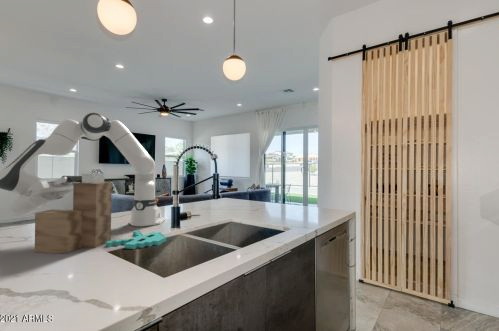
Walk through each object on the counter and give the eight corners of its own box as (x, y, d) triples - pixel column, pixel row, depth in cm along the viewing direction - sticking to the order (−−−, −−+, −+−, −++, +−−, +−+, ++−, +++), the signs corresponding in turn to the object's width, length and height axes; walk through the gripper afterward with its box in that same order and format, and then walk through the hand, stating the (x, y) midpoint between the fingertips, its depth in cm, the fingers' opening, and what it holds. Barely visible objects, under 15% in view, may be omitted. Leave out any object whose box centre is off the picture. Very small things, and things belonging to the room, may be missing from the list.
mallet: (69, 181, 116) (70, 172, 116) (104, 182, 114) (104, 173, 114) (56, 182, 109) (57, 173, 109) (93, 183, 107) (93, 173, 107)
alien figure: (105, 247, 107) (149, 251, 103) (105, 242, 107) (149, 245, 103) (135, 235, 127) (173, 238, 123) (135, 230, 127) (173, 233, 123)
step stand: (71, 239, 117) (71, 181, 117) (110, 240, 116) (111, 182, 116) (34, 252, 99) (35, 184, 100) (80, 254, 98) (81, 185, 98)
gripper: (17, 189, 103) (45, 172, 102) (60, 185, 124) (83, 171, 122) (24, 203, 103) (53, 186, 102) (66, 197, 123) (89, 182, 122)
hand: (70, 177), depth 112 cm, fingers closed on mallet, 3 cm apart
